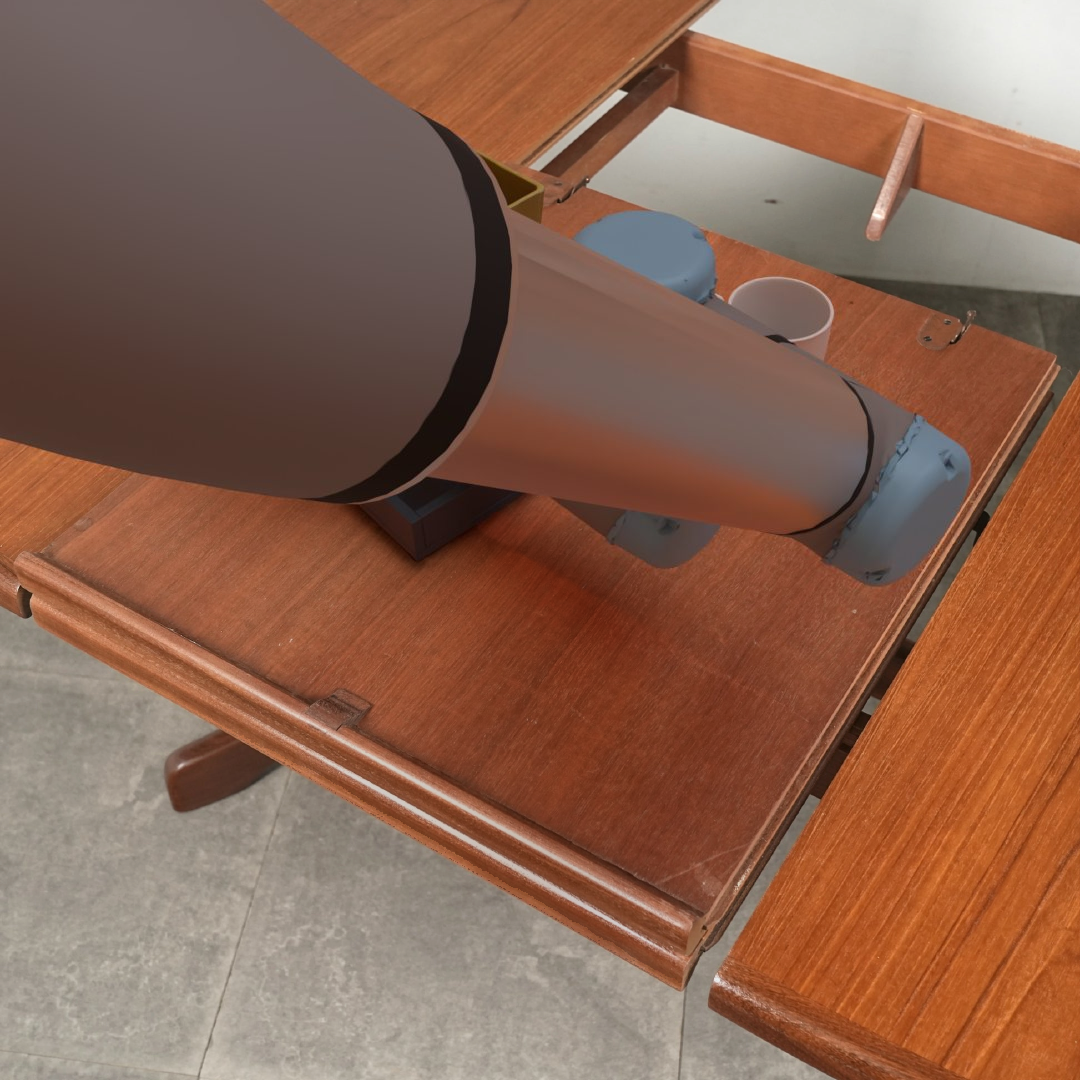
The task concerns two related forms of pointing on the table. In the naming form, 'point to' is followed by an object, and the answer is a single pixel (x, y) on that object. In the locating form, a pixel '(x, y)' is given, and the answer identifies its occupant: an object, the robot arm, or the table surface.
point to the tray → (436, 512)
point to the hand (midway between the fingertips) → (293, 256)
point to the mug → (788, 310)
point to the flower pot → (517, 189)
